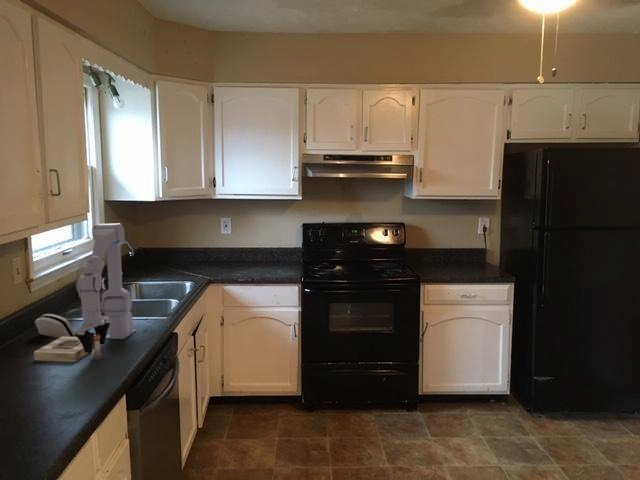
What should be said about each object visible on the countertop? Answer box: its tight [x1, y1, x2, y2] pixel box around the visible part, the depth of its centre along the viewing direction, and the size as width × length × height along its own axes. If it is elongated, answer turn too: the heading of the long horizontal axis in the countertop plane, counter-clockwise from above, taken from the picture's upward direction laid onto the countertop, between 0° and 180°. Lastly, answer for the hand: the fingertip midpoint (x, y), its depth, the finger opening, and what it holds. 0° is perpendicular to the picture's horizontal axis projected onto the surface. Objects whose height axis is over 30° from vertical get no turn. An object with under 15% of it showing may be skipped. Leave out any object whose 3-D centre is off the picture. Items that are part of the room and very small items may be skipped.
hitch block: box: [33, 336, 89, 363], centre depth 175 cm, size 15×15×3 cm
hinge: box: [34, 313, 77, 339], centre depth 192 cm, size 17×5×10 cm, turn 65°
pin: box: [90, 333, 102, 361], centre depth 169 cm, size 4×4×8 cm
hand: (95, 348), depth 169 cm, fingers open, 7 cm apart
